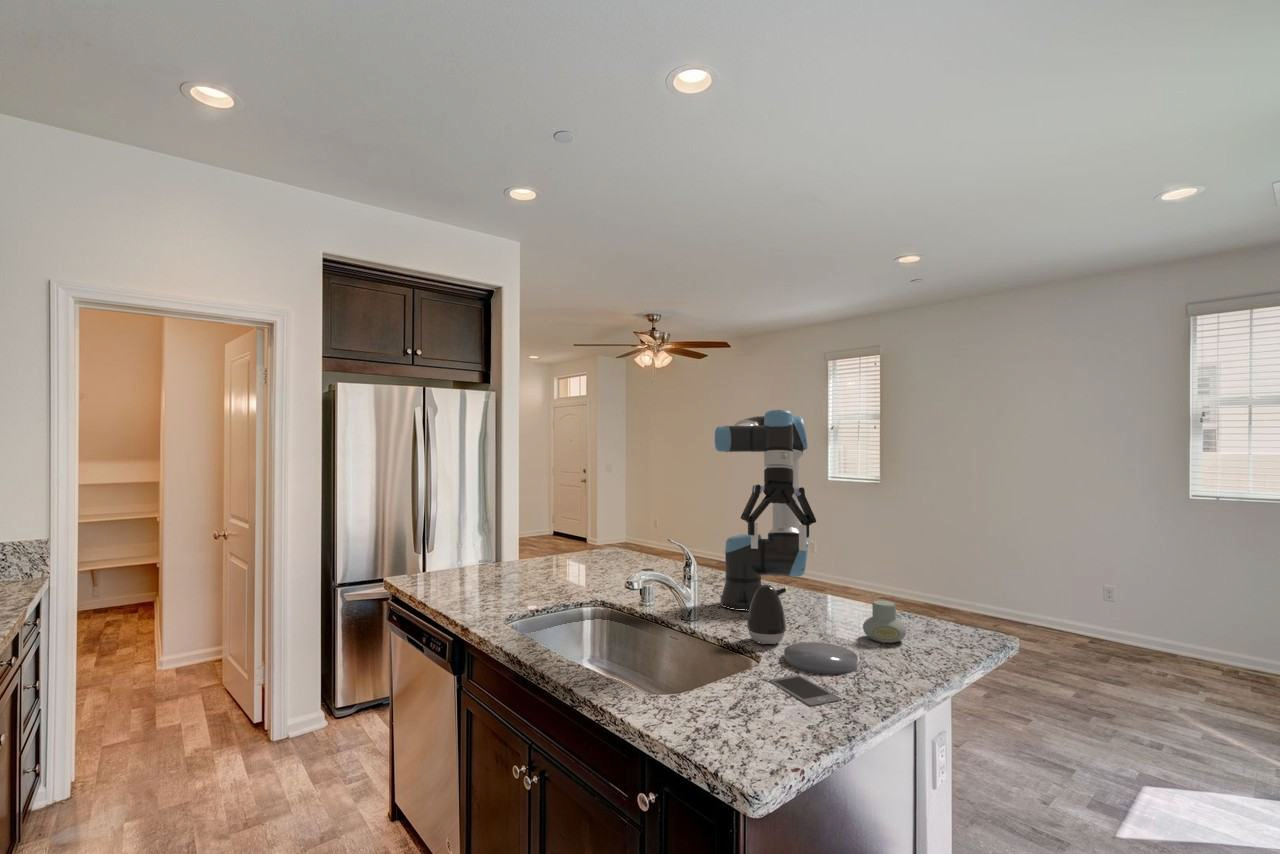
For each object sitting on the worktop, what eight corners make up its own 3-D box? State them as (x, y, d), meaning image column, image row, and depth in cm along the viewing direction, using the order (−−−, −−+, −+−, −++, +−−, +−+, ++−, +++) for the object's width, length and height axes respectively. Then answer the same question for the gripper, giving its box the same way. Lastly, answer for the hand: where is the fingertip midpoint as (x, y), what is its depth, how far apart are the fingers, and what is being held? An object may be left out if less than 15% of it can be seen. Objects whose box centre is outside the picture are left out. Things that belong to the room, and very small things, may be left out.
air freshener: (863, 642, 163) (863, 605, 163) (862, 634, 171) (861, 597, 171) (908, 646, 160) (907, 608, 160) (904, 637, 167) (904, 600, 168)
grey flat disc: (816, 646, 160) (816, 638, 160) (872, 665, 146) (872, 656, 146) (769, 658, 151) (769, 649, 151) (824, 679, 136) (824, 670, 136)
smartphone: (767, 682, 136) (767, 679, 136) (798, 677, 139) (798, 674, 139) (809, 709, 122) (809, 705, 122) (842, 702, 125) (842, 698, 125)
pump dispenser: (790, 648, 158) (790, 589, 159) (750, 648, 158) (750, 589, 159) (782, 636, 168) (782, 580, 169) (744, 636, 168) (744, 580, 169)
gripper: (739, 463, 156) (739, 548, 152) (828, 469, 161) (830, 551, 157) (729, 466, 163) (728, 547, 159) (814, 472, 168) (815, 550, 164)
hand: (778, 549), depth 158 cm, fingers open, 13 cm apart
